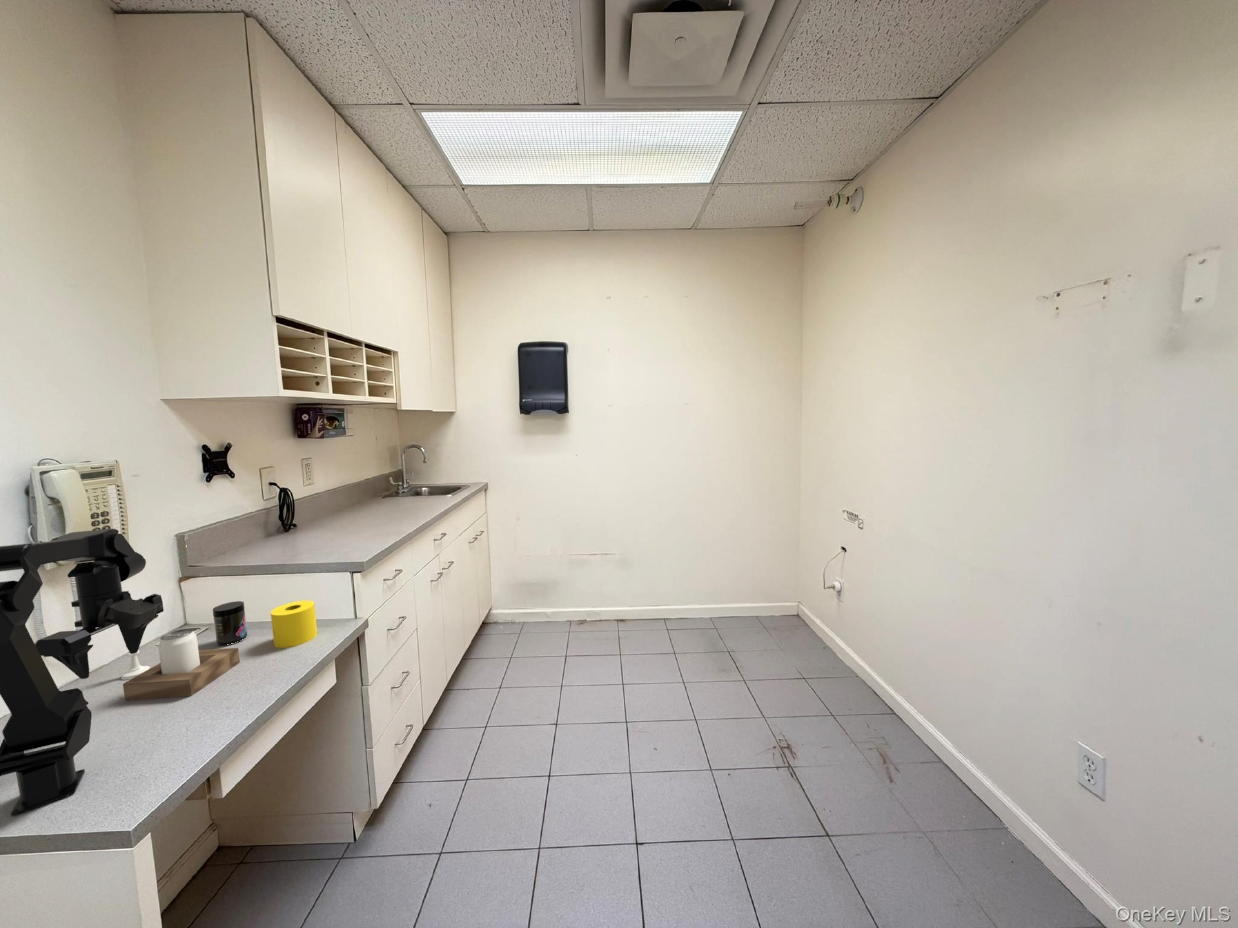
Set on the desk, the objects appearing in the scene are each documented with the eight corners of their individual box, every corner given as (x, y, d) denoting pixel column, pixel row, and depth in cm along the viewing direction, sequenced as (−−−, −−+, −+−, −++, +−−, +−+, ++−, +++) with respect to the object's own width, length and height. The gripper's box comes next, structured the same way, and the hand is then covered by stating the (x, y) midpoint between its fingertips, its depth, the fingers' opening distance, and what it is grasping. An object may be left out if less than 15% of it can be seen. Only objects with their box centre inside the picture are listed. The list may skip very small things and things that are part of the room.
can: (178, 689, 101) (172, 641, 100) (155, 688, 102) (149, 639, 101) (208, 674, 107) (203, 627, 106) (187, 672, 108) (181, 626, 107)
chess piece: (118, 676, 107) (112, 638, 106) (146, 666, 112) (141, 629, 111) (125, 681, 105) (119, 642, 104) (153, 671, 109) (148, 633, 108)
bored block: (191, 695, 99) (189, 679, 98) (125, 700, 98) (122, 683, 97) (239, 662, 113) (238, 647, 112) (182, 666, 111) (180, 651, 111)
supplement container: (234, 646, 121) (230, 610, 120) (209, 647, 121) (205, 611, 120) (253, 634, 128) (250, 600, 127) (230, 635, 128) (226, 601, 127)
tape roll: (283, 651, 118) (280, 618, 117) (267, 642, 123) (264, 610, 122) (323, 635, 126) (320, 604, 125) (307, 627, 131) (304, 598, 131)
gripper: (91, 608, 78) (103, 689, 80) (185, 573, 97) (193, 639, 98) (23, 612, 77) (36, 694, 79) (131, 576, 96) (140, 643, 97)
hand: (110, 665), depth 88 cm, fingers open, 9 cm apart
